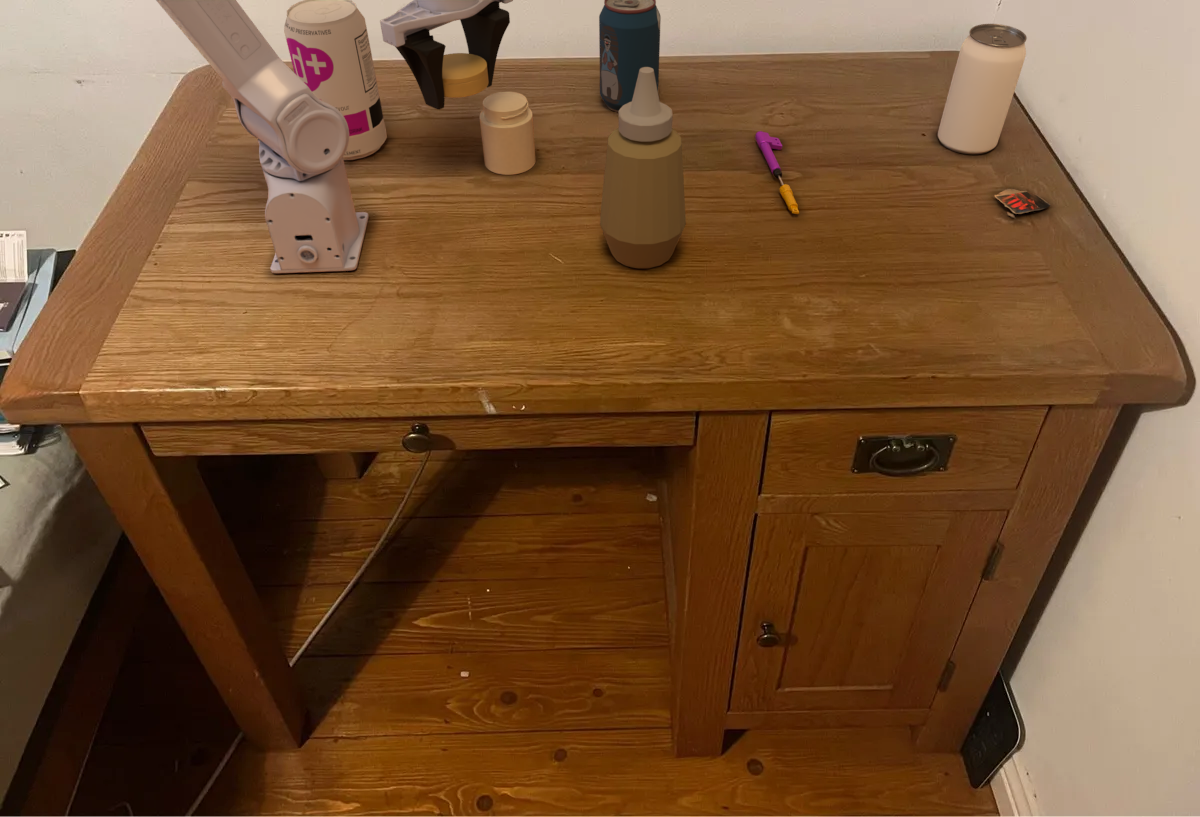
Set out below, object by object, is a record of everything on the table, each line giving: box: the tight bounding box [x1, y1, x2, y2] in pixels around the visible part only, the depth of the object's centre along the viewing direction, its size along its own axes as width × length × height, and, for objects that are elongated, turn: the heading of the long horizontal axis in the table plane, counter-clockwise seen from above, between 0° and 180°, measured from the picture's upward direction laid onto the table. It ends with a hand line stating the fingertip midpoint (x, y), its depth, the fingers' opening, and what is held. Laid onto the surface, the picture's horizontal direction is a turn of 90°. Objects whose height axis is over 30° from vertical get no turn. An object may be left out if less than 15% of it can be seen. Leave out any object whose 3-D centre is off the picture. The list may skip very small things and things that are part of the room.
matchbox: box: [993, 188, 1051, 220], centre depth 93 cm, size 5×5×1 cm
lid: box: [442, 52, 489, 99], centre depth 90 cm, size 6×6×2 cm
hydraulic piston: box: [754, 130, 800, 215], centre depth 97 cm, size 3×1×16 cm
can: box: [937, 23, 1028, 156], centre depth 98 cm, size 6×6×12 cm
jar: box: [479, 91, 537, 176], centre depth 98 cm, size 6×6×7 cm
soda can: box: [598, 0, 662, 114], centre depth 106 cm, size 7×7×12 cm
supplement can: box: [283, 0, 388, 161], centre depth 98 cm, size 8×8×15 cm
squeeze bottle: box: [599, 67, 687, 269], centre depth 81 cm, size 8×8×18 cm
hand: (459, 94), depth 91 cm, fingers closed on lid, 6 cm apart
